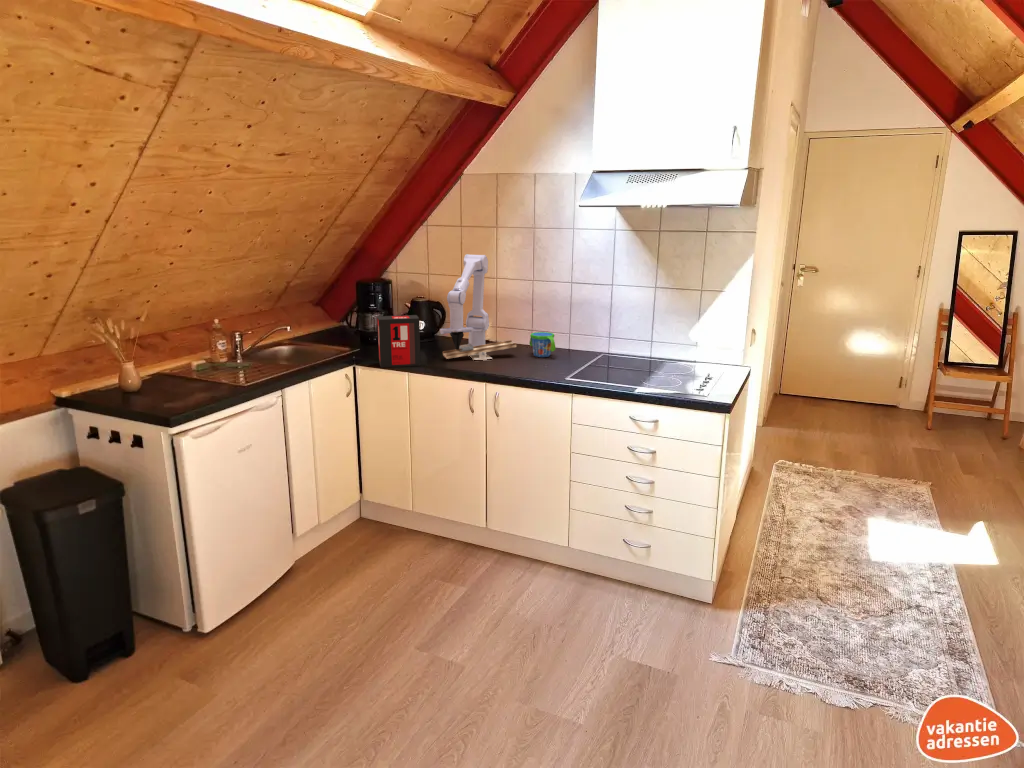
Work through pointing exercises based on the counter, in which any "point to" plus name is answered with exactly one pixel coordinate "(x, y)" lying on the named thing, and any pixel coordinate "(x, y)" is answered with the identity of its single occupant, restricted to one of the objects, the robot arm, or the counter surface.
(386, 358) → the cleaning product box
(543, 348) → the snack cup
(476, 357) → the fulcrum stand
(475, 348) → the beam
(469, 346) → the steel block
